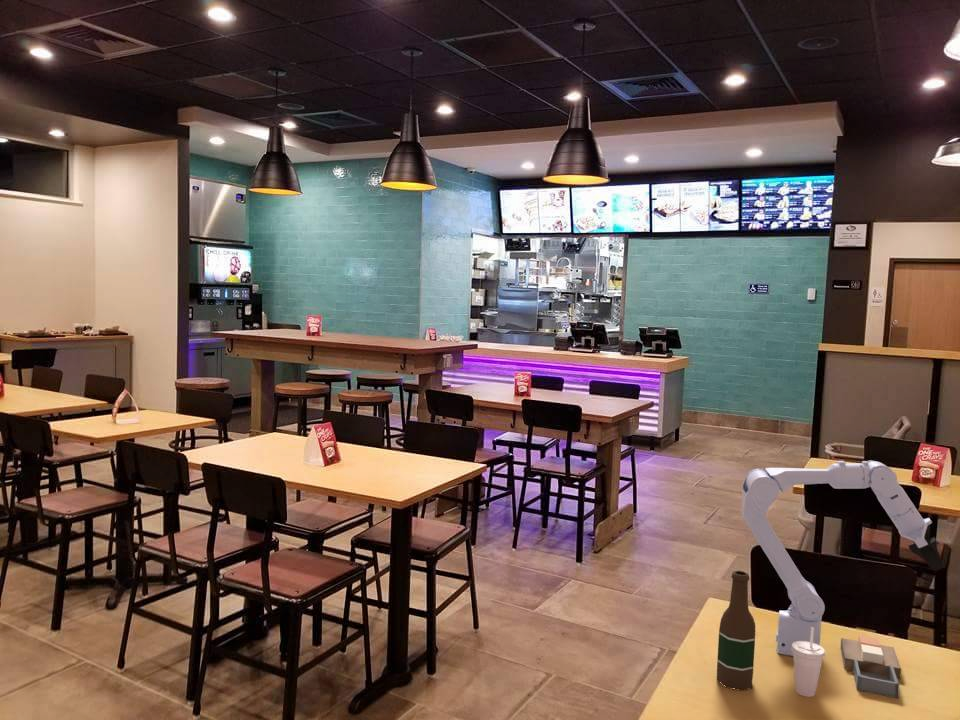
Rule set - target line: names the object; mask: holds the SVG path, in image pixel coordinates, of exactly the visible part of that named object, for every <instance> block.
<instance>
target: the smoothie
mask: <svg viewBox="0 0 960 720" xmlns="http://www.w3.org/2000/svg"><path fill="white" fill-rule="evenodd" d="M813 634H814V628H813V627H811V635H810V642H807V641H796V642H794V643H793V644H792V648H791V649H792V651H793V656H792V657H793V667H794V681H795V682H794V684H795V692H796V693H797V694H799V695H801V696H803V697H809V698H812V697H814V696H816V692H817V687H818V683H819V677H820V674H821V673H820V672H821V669H822V663H823V660H824V659H823V658H825V657H826V655H825V654H826V650H825V649H824V648H823V646H821V645H820V646H819V645H817V644H815V643H813Z"/></svg>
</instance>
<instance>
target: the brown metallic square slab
mask: <svg viewBox="0 0 960 720" xmlns="http://www.w3.org/2000/svg"><path fill="white" fill-rule="evenodd" d="M880 648H881V650H882V653H883V664H879V663H874V662H869V661H863V660H862V657H861V653H860V652H861V651H860V649H859V645H858V640H854V639H849V638H845V637H841V638H840V653H841V659H842V663H843V668H844V669H843V670H849V671H853V661H854V658H857V661H858V666H859V670H860V671H864V672H870V673H875V674H880V675H885V676H889V664H891V665H893V668H894V671H895V674H896V677H897V680H901V676H902V674H901V672H902V667H901V663H900V661H899V658H898V655H897V653H896V650H895V647H894V646H890V645H883V644H880Z"/></svg>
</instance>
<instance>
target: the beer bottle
mask: <svg viewBox="0 0 960 720" xmlns="http://www.w3.org/2000/svg"><path fill="white" fill-rule="evenodd" d="M731 579H732V582H731V592H730V598H729V605H728V607H727V608H726V609H725V611H724V612H723V614H722V616H721V619H720V622H719V628H718V629H719V630H718V643H717V662H716V664H717V665H716V681H717V680H718V681H719V682H721V683H722V684H723V685H725V686H726V687H729V688H728V689H730V688H735V689H739V690H741V691H745V690H744V689H746V690H749V689H748V688H750V689H752V687H753V686H752V685H753V678H754V663H755V649H756V648H755V645H756V623H755V619H754V616H753V615H752V613H751V611H750V610H749V585H748V584H749V581H750V575H749V573H748V572H746V571H742V570H734V571H732V574H731ZM718 681H717V682H718ZM719 682H718V683H719ZM721 683H720V684H721ZM722 684H721V685H722ZM723 685H722V686H723ZM725 686H724V687H725ZM726 687H725V688H726ZM735 689H734V690H735ZM739 690H738V691H739Z"/></svg>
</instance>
